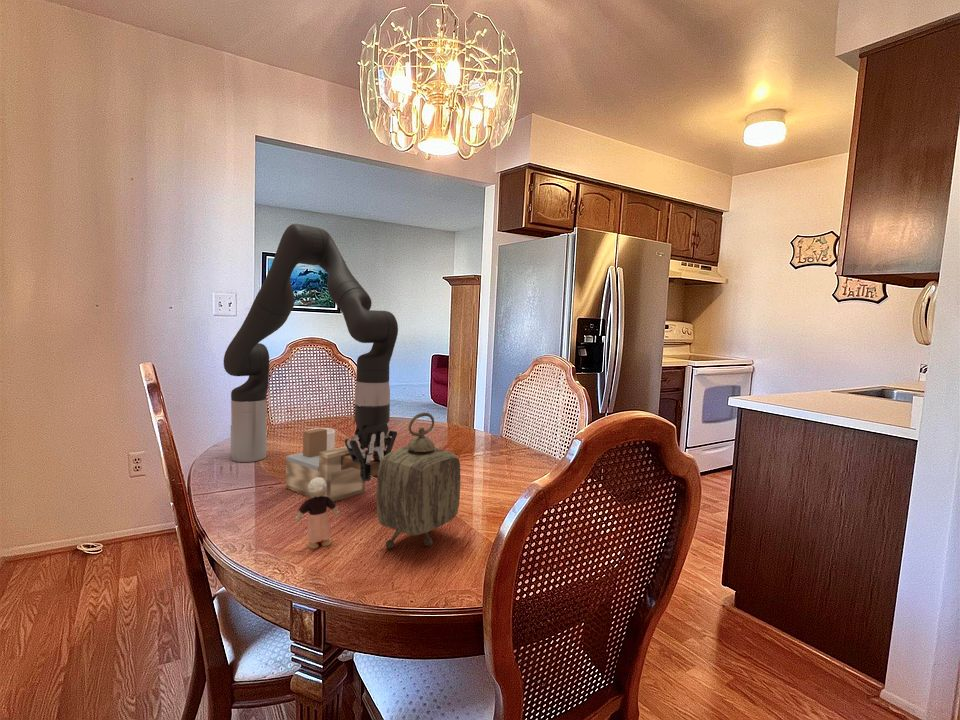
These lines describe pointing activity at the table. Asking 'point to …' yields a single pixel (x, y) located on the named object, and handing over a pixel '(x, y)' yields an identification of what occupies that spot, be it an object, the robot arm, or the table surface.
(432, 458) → the tabletop clock
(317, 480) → the grandmother figurine
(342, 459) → the bar
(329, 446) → the white cup
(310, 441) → the lid
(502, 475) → the table surface
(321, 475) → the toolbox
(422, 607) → the table surface
